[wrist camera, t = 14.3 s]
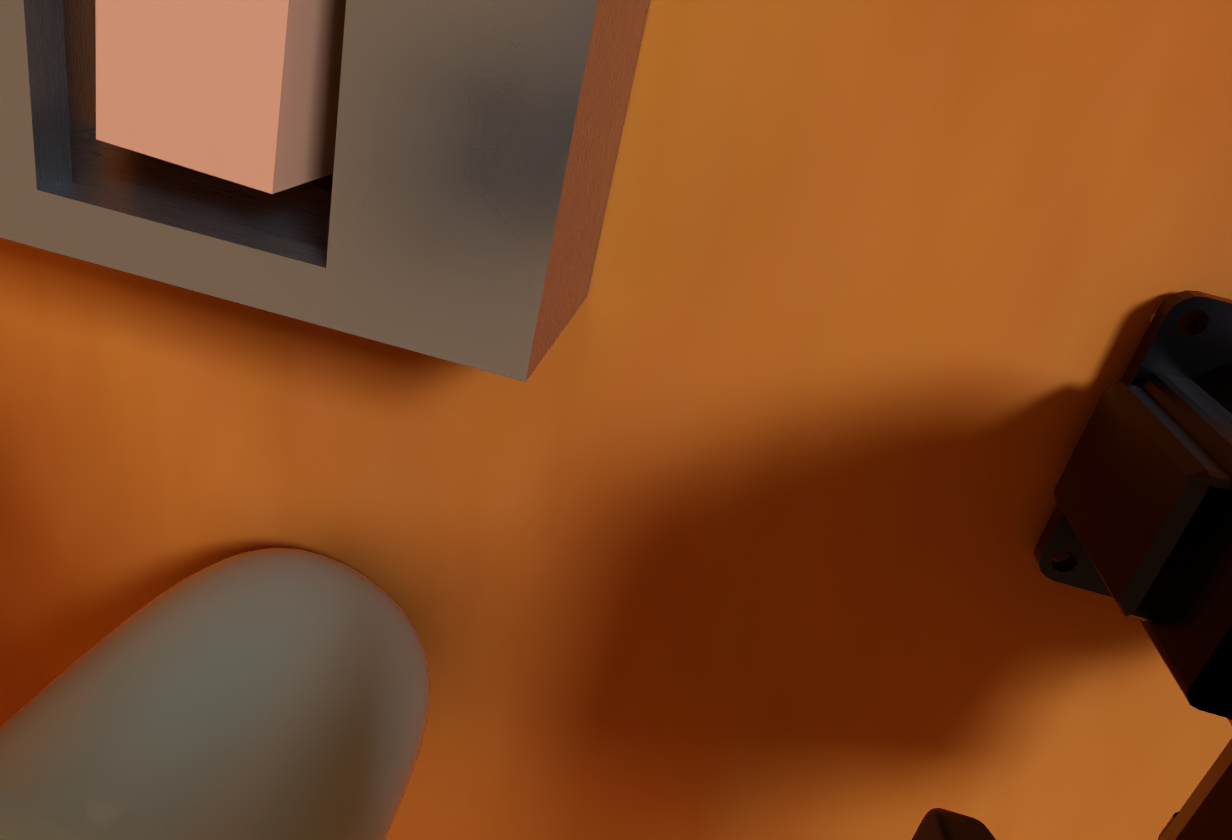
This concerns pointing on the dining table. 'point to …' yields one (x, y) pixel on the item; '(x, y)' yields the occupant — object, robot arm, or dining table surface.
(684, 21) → the dining table surface
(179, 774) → the cup
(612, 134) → the box
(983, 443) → the dining table surface
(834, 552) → the dining table surface
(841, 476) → the dining table surface
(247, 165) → the pink rectangular block
